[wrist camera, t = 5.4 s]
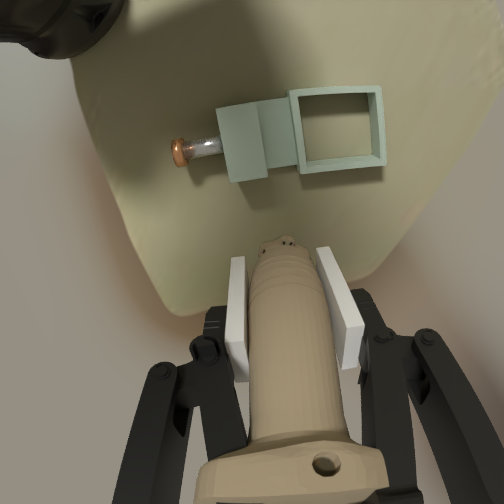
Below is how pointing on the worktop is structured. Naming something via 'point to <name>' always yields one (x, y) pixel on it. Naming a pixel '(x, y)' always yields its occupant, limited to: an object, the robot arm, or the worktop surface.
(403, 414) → the robot arm
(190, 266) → the worktop surface
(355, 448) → the handle
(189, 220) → the worktop surface
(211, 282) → the worktop surface
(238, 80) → the worktop surface
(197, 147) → the lock pin
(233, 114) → the dock
